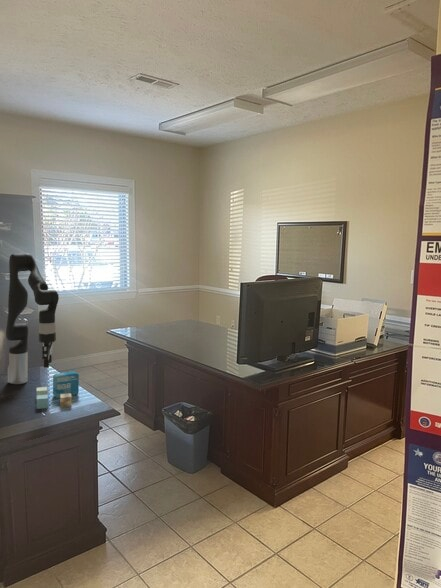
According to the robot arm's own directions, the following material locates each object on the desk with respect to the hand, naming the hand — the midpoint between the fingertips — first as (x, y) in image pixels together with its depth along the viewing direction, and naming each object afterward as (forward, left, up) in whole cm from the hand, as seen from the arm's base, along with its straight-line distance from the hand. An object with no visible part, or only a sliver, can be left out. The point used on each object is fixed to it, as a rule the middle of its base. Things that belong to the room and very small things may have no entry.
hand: (47, 364), depth 206 cm
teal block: (-3, +1, -22) cm, 22 cm away
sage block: (-8, +11, -22) cm, 25 cm away
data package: (+2, +17, -22) cm, 27 cm away
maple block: (+7, +5, -22) cm, 23 cm away
